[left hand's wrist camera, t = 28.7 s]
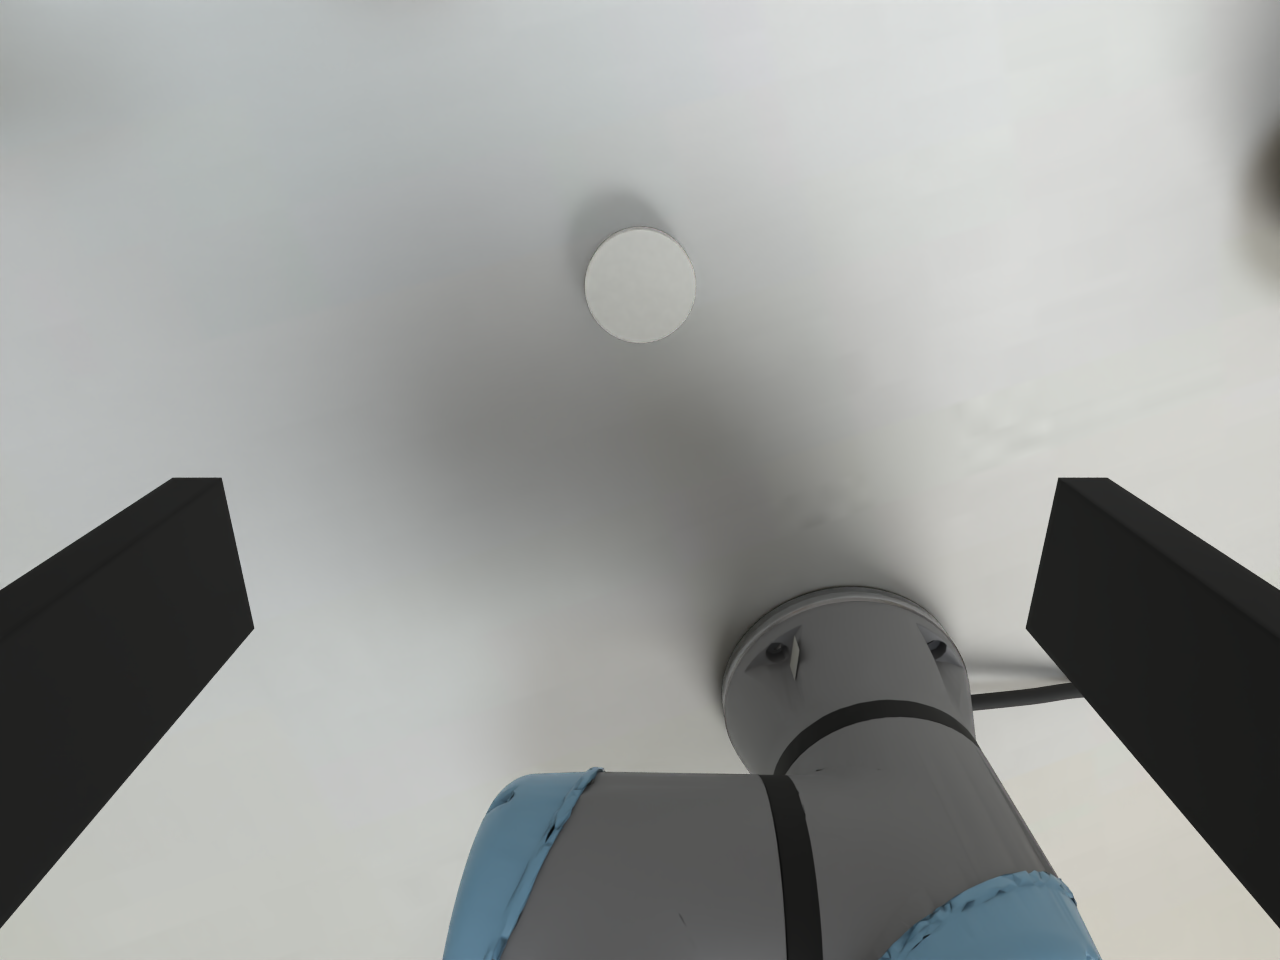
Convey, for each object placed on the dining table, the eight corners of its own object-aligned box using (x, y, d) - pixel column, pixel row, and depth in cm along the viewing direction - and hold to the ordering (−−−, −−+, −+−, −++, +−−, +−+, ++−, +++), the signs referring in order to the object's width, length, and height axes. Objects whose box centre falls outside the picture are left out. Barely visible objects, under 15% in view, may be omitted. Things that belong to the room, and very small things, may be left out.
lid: (690, 337, 41) (692, 345, 40) (586, 333, 41) (584, 341, 39) (696, 228, 39) (699, 231, 37) (587, 224, 39) (584, 227, 37)
